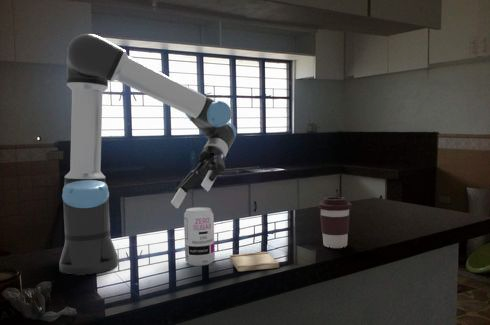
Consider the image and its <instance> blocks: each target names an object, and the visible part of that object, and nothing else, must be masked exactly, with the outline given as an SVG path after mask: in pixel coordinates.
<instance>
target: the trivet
mask: <svg viewBox="0 0 490 325" xmlns="http://www.w3.org/2000/svg"><path fill="white" fill-rule="evenodd" d="M229 259H230V261H231V263H232V264H233V266H234V267H235V268H236V270H237V272H246V271H247V272H248V271H256V270H257V271H258V270H268V269H278V268H280V262H279V261H277V260H276V259H275V258H273V257H272V256H271V255H270V253H269V252H268V251H260V252H250V253H249V252H248V253H242V254H239V253H238V254H230V256H229Z"/></svg>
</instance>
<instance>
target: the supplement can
mask: <svg viewBox="0 0 490 325" xmlns="http://www.w3.org/2000/svg"><path fill="white" fill-rule="evenodd" d="M214 216H215V215H214V213H213V211H212V208H211V207H208V206H197V207H196V206H195V207H189V208H185V212H184V213H183V226H184V227H183V229H184V231H183V232H184V254H185V258H184V260H185V262H186V263H187V264H188V265H190V266H194V267H197V266H198V267H201V266H208V265H211V264H212V263H213V262H214V261H215V259H216V258H215V257H216V256H215V254H216V253H215V251H216V250H215V248H216V247H215V225H214V224H215V221H214Z"/></svg>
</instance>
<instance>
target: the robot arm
mask: <svg viewBox="0 0 490 325" xmlns="http://www.w3.org/2000/svg"><path fill="white" fill-rule="evenodd" d="M115 81H118V83H122V84H124V85H125V86H128V87H130V88H131V89H133V90H135V91H138V92H140V93H142V94H144V95H147V96H149V97H151V98H152V99H155V100H157V101H158V102H161V103H163V104H165V105H167V106H168V107H171V108H172V109H175V110H176V111H177V110H178V111H179V112H181V113H183V114H185V116H186V117H187V119H189V121H191V122H192V124H194V125H195V127H196V128H197V129H198V130H199V131H200V132H201V133H202V134H203V136H205V138H206V139H208V140H207V142H206V144H204V146H203V148H202V150H201V152H200V153H199V156H198V161H199V164H197V166H196V167H195V168H191V170H190V171H189V173H188V174H187V176H185V178H184V179H183V180H182V181H181V183H180V184H179V185H178V186H177V187H175V189H174V191H175V192H176V193H175V194H174V197H173V198H172V199H171V201H170V204H171V205H172V206H174V208H175V209H179V208H180V206H181V204H182V203H183V202H184V200H185V199H186V198H185V197H187V193H188V191H189V190H191V189H192V187H193V186H194V185H195V184H196V183H197V182H198V181H199V180H202V179H203V178H204V179H203V180H202V182H201V184H200V185H201V188H203V189H204V190H205V191H206V192H209V191H210V190H211V188H212V186H213V184H214V183H215V180H216V179H217V176H219V175H220V172H224V171H225V170H226V165H225V160H226V156H227V154H228V152H229V151H230V149H231V147H232V145H233V144H234V142H235V139H236V136H237V129H236V127H235V125H234V124H233V123H231V122H230V120H231V118H232V108H230V106H229V104H227V103H226V102H224V101H220V100H215V99H212V98H211V97H208V96H206V95H204V94H202V93H201V92H198V91H196V90H195V89H193V88H191V87H189V86H187V85H185V84H183V83H181V82H179V81H178V80H175V79H173V78H172V77H170V76H168V75H166V74H165V73H162V72H160V71H158V70H156V69H154V68H152V67H151V66H148V65H146V64H145V63H142V62H141V61H139V60H137V59H135V58H133V57H131V56H130V55H128V53H127V50H126V49H124V48H122V47H120V46H118V45H117V44H115V43H113V42H111V41H109V40H107V39H105V38H104V37H101V36H100V35H99V36H98V35H96V34H94V33H83V34H79V35H76V36H75V37H74V38H73V39H71V41H70V43H69V44H68V46H67V51H66V86H67V87H68V88H69V89H70V90H71V121H70V122H71V123H70V124H71V125H70V128H71V130H70V160H69V161H70V163H69V164H70V165H69V166H70V167H69V168H70V170H69V172H68V173H67V174H65V175H64V183H63V184H64V186H63V188H62V194H61V197H62V199H61V200H62V202H63V206H62V207H63V223H64V224H63V225H64V246H63V249H62V252H61V256H60V260H59V263H58V264H59V265H58V267H59V268H58V269H59V272H60V271H61V272H63V273H66V274H76V275H75V276H87V275H86V274H89V275H95V274H99V273H104V272H107V271H110V270H112V269H114V268H116V267H117V266H118V265H119V256H118V253H117V250H116V248H115V245H114V243H113V240H112V238H111V222H110V221H111V220H110V203H109V202H110V201H109V200H110V199H109V197H110V192H109V187H108V184H107V182H106V176H105V175H104V174H103V172H102V170H101V169H102V168H101V166H102V165H101V162H102V161H101V160H102V127H103V126H102V124H103V123H102V119H103V93H104V92H105V91H106V90H108V88H109V86H108V84H109V82H115ZM204 176H205V177H204ZM61 272H60V273H61ZM63 273H62V274H63ZM94 273H95V274H94ZM66 274H65V275H66Z"/></svg>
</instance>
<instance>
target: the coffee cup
mask: <svg viewBox="0 0 490 325" xmlns="http://www.w3.org/2000/svg"><path fill="white" fill-rule="evenodd" d="M318 209H319V210H320V215H319V217H320V226H321V227H320V228H321V233H322V242H323V246H324V247H327V248H329V247H330V248H331V249H342V248H343V247H344V248H346V247H347V246H348V238H349V237H348V234H349V229H350V227H349V226H350V210H351V209H352V203H351V202H349V201H347V199H346V198H345V197H341V196H327V197H324V198H323V199H322V200H321V202H319V203H318Z"/></svg>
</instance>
